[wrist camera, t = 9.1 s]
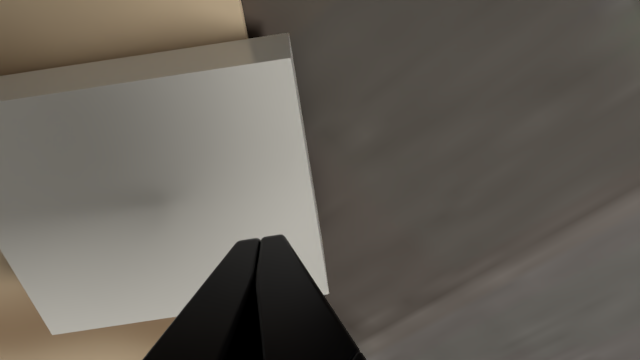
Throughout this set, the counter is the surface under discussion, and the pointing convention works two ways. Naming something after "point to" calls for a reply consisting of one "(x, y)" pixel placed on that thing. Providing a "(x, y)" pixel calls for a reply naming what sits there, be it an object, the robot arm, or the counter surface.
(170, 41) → the cork mat
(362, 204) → the counter surface
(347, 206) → the counter surface
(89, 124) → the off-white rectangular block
